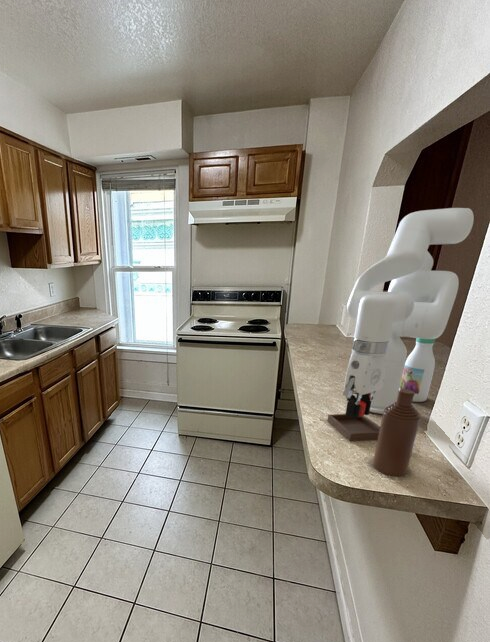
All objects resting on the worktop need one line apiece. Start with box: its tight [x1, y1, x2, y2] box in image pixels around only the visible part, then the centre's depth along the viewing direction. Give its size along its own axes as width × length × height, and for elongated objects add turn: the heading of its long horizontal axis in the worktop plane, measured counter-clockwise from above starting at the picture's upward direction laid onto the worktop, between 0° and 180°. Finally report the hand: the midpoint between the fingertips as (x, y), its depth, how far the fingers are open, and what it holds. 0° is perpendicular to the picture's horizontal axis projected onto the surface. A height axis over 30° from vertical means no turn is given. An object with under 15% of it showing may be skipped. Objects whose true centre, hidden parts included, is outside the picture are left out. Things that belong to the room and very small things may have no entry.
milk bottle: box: [399, 338, 436, 403], centre depth 110 cm, size 8×8×20 cm
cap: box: [359, 401, 366, 417], centre depth 92 cm, size 4×4×3 cm
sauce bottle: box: [372, 389, 421, 477], centre depth 74 cm, size 6×6×18 cm
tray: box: [326, 413, 380, 442], centre depth 94 cm, size 11×9×2 cm
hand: (357, 414), depth 92 cm, fingers closed on cap, 3 cm apart
